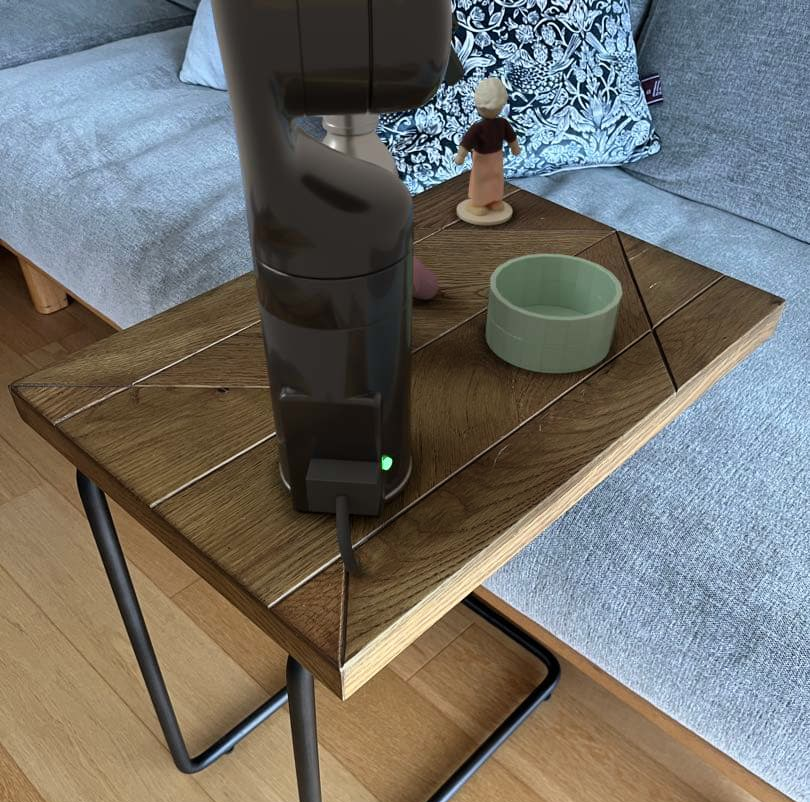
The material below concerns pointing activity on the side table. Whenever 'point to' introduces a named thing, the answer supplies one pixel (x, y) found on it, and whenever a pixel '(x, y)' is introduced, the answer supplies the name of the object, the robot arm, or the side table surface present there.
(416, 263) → the video game controller
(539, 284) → the bowl
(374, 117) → the metal water bottle
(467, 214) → the coaster
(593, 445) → the side table surface
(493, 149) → the grandmother figurine
